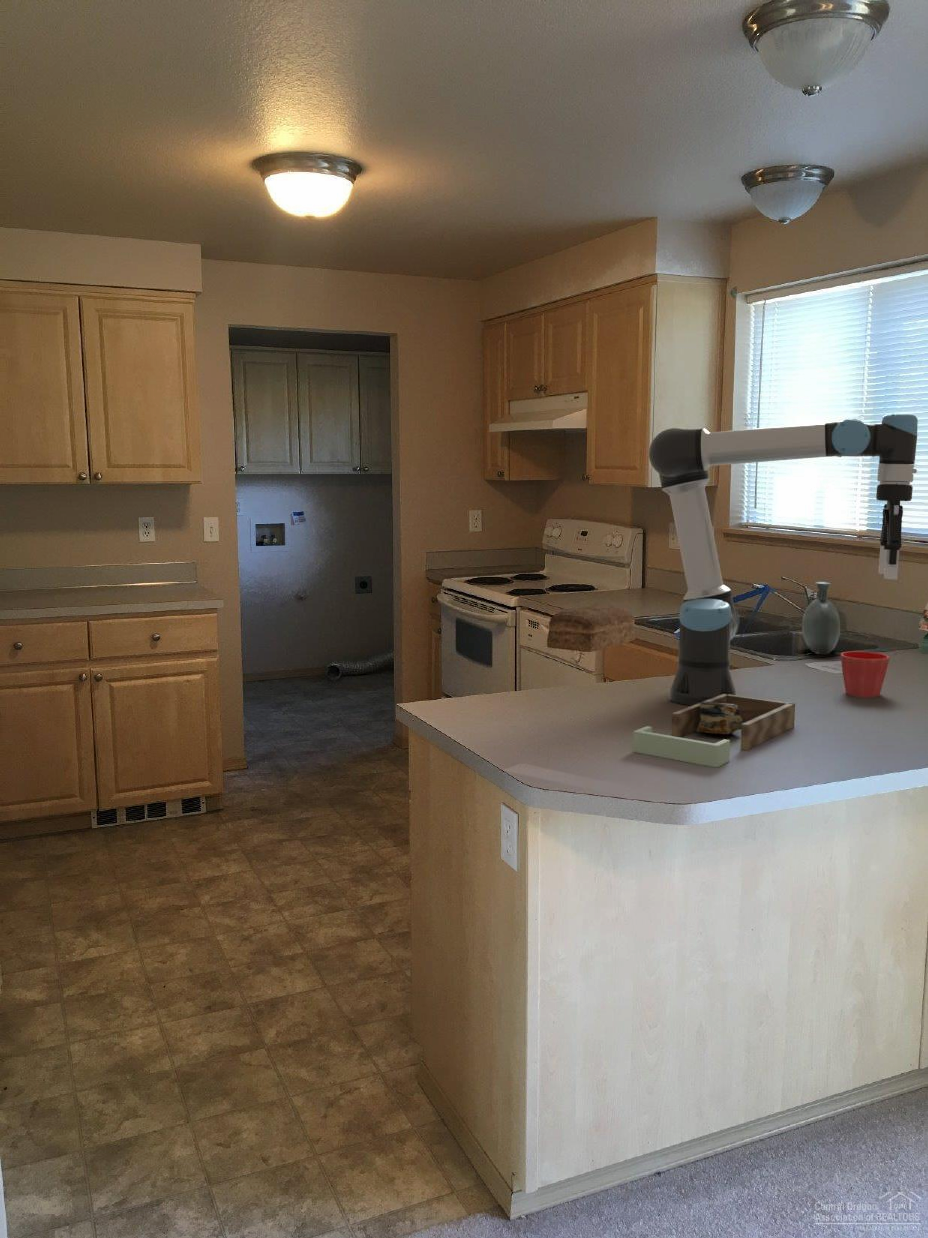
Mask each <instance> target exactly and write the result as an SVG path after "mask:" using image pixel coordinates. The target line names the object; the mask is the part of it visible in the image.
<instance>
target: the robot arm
mask: <svg viewBox="0 0 928 1238" xmlns="http://www.w3.org/2000/svg"><path fill="white" fill-rule="evenodd" d="M918 422H919V420H918V417H917V416H916V415H914V414H911V413H910V414H908V413H907V414H906V413H893V414H884V415H883V416H882V420H881V422H878V423H877V422H876V423H864V422H863V421H862V420H860V419H856V418H849V419H845V420H844V419H843V420H840V421H839V420H838V421H831V422H818V423H817V422H816V423H803V424H793V425H783V426H782V425H781V426H779V425H778V426H769V427H759V428H747V429H745V428H744V429H733V430H725V431H724V430H723V431H722V430H721V431H711V432H709V431H708V430H707V429H706V428H694V429H693V428H692V429H687V428H686V429H685V428H675V427H673V428H667V429H664V430H662V431H660V432H659V433H658V434H656V436H655V437H654V438H653V439H652V441H651V443H650V446H649V449H648V458H649V462H650V465H651V466H652V468H653V470H655V472H656V473H658V476H659V481H660V486H661V491H663V492H664V493H666V494H667V495H668V496H669V499H670V504H671V509H672V514H673V520H674V524H675V530H676V535H677V540H678V541H677V542H678V545H679V551H680V555H681V560H682V561H681V562H682V566H683V570H684V572H683V573H684V576H685V582H686V587H687V592H686V594H685V595H684V596H683V598H682V599H683V603H682V605H681V606H680V611H679V614H678V619H679V633H678V635H679V637H678V638H679V640H678V641H679V643H678V667H677V671H676V673H675V675H674V676H675V677H674V679H673V681H672V684H671V688H670V691H669V693H670V695H669V699H670V701H672V702H674V703H677V704H681V705H687V706H693V705H695V704H698V703H701V702H703V701H706V700H709V699H711V698H714V697H717V696H719V695H722V694H730V695H737V691H736V687H735V684H734V680H733V678H732V675H731V671H730V659H731V658H730V656H731V655H730V653H731V642H732V641H733V639H734V637H736V636H737V635H736V634H737V633H738V631H739V626H740V617H739V613H738V611H737V609H736V607H735V604H734V600H733V593H732V589H731V588H729V586H727V585H725V584H724V581H723V577H722V570H721V566H720V560H719V555H718V550H717V544H716V539H715V534H714V529H713V524H712V520H711V513H710V508H709V503H708V499H707V494H706V486H707V484H708V483H709V482H710V474H709V469H710V468H711V467H712V466H713V467H714V466H726V465H739V464H750V463H751V464H752V463H753V464H754V463H764V462H765V463H766V462H776V461H777V462H778V461H779V462H780V461H788V460H791V461H792V460H801V459H814V458H828V457H830V458H831V457H832V458H833V457H837V458H842V457H853V458H855V457H873V458H874V457H875V458H876V457H878V459H879V461H878V465H877V466H878V468H877V482H879V484H878V485H876V494H875V495H876V496H875V498H876V501H880V502H881V501H882V502H883V501H884V502H885V501H886V503H884V505H883V509H882V519H881V521H882V523H881V525H882V526H881V532H880V538H879V542H880V547H879V558H878V559H879V560H878V574H880V575H882V574H883V579H884V580H898V576H899V575H898V574H899V564H900V563H899V562H900V549H901V548H902V547H903V546H902V524H903V516H904V506H903V505H901V502H911V501H912V499H913V491H914V490H913V487H914V486H912V484H911V483H912V482H914V474H916V473H918V472H917V471H918V470H917V469H916V468H915V463H916V452H917V441H918V425H919V423H918Z"/></svg>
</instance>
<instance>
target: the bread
mask: <svg viewBox="0 0 928 1238" xmlns="http://www.w3.org/2000/svg"><path fill="white" fill-rule="evenodd" d="M635 619H636V618H635V616H634V614H633V613H632V612H631V611H630V610H629V609H628V608H626V607H624V606H621V605H613V604H605V603H595V604H590V605H585V606H580V607H574V608H570V609H565V610H562V611H559V612H557V613H555V614H554V615H553V616H551V617H550V620H549V622H548V633H547V639H546V640H547V641H546V646H547V648H550V649H558V650H566V651H567V650H568V651H576V652H584V653H585V652H586V653H592V652H596V651H599V650H603V649H606V648H611V647H614V646H619V645H621V644H626V643H629V642H632V641H634V640H636V638H637V637H636V636H637V632H636V631H637V630H636V626H635V622H636V620H635Z"/></svg>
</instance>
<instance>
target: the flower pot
mask: <svg viewBox="0 0 928 1238" xmlns="http://www.w3.org/2000/svg"><path fill="white" fill-rule="evenodd" d="M840 661H841V668H842V677H843V683H844V688H845V690H844V691H845V693H846V694H847V695H849V696H853V697H858V698H876V697H879V696H880V694H881V692H882V688H883V684H884V682H885V677H886V673H887V670H888V665H889V661H890V656H889V655H886V654H883V653H879V652H871V651H861V650H859V651H857V650H856V651H855V650H853V651H844V652H842V653H840Z"/></svg>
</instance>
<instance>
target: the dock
mask: <svg viewBox="0 0 928 1238" xmlns="http://www.w3.org/2000/svg"><path fill="white" fill-rule="evenodd" d="M632 735H633V736H632V737H633V739H632V752H633V753H637V754H643V755H647V756H653V757H659V758H665V759H669V760H675V761H680V762H681V761H682V762H687V763H691V764H695V765H696V764H697V765H701V766H702V765H703V766H706V767H712V768H718V767H721V766H723V765H725V764H727V763H729V762H730V754H731V753H730V751H731V750H730V749H731V740H730V739H725V738H724V739H722V740H719V741H717V742H715V743H714V742H708V741H703V740H696V739H690V738H684V737H674V736H671V735H667V734H662V733H661V734H660V733H655V732H653V727H652V726H649V725H646V726H644V727H642V728H638V729H636V730H634V731H633V734H632Z"/></svg>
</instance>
